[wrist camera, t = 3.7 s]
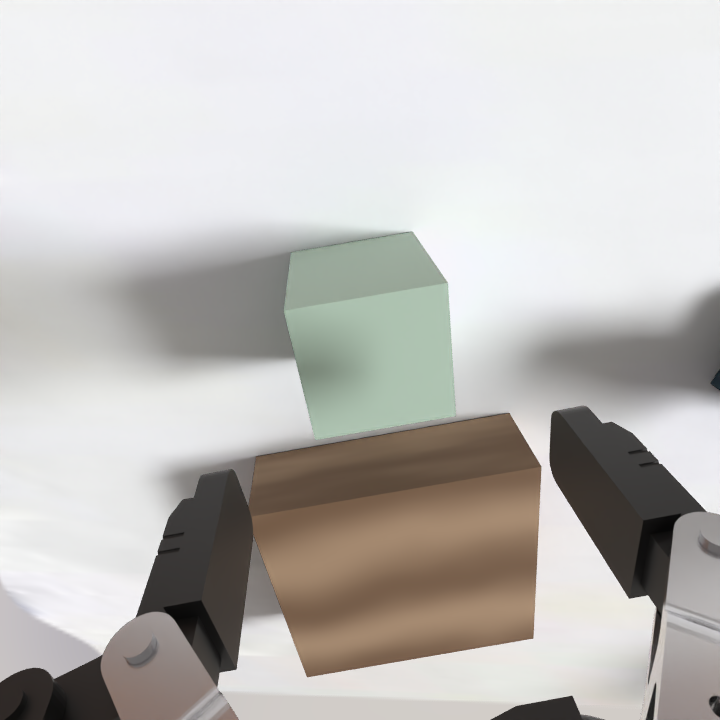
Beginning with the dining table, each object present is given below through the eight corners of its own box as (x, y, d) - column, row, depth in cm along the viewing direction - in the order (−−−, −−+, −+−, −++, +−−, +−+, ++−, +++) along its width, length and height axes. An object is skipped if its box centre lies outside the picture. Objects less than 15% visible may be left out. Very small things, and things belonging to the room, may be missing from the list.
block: (291, 252, 20) (283, 310, 15) (412, 231, 20) (447, 282, 15) (314, 357, 22) (315, 440, 17) (422, 339, 22) (456, 416, 17)
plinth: (256, 456, 25) (246, 517, 21) (509, 413, 25) (541, 466, 21) (307, 611, 31) (307, 677, 28) (508, 576, 31) (533, 638, 28)
